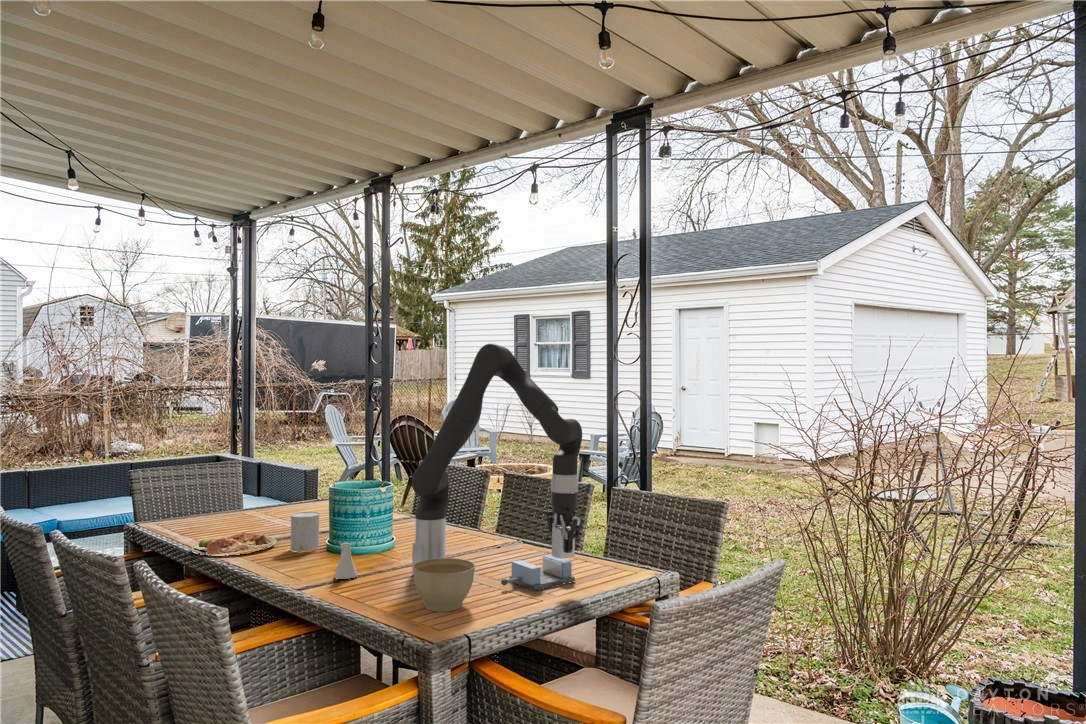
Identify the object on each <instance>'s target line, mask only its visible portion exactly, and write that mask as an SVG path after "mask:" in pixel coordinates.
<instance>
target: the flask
mask: <svg viewBox="0 0 1086 724" xmlns="http://www.w3.org/2000/svg"><path fill="white" fill-rule="evenodd" d="M351 546H352V543H350V542H343V543H341V544H340V548H341V551H340V552H341V553H340V557H339V561H338V563H337V564H338V565H337V567H336V569H335V572H334V576H333V578H334V577H335V578H338V579H349V580H351V579H350V578H353V577H357V578H358V576H357V574H358V571H357V569H356V567H355V563H354V560H353V558H352V553H351Z"/></svg>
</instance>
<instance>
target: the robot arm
mask: <svg viewBox="0 0 1086 724" xmlns="http://www.w3.org/2000/svg"><path fill="white" fill-rule="evenodd" d="M477 351H478V352H477V353H476V355H475V357H474V360H473V362H472V364H471V367H470V369H469V372H468V374H467V377H466V378H465V381H464V383H463V385H462V387H461V389H460V391H459V393H458V394H457V396H456V399H455V401H454V402H453V404H452V406H451V407H450V409H449V411H448V413H447V414H446V416H445V418H444V420H443V423H442V425H441V426H440V428H439V430H438V433H437V435H436V436H435V439H434V440H433V442H432V445H431V447H430V449H429V450H428V452H427V454H426V455H425V456H424V458H423V459H422V461H421V462H420V464H419V465H418V467H417V468H416V470H415V471H414V473H413V475H412V479H411V487H412V488H411V489H412V490H413V491H414V493H415V494H416V495H417V496H418V497H419V501H418V504H417V507H416V508H415V511H414V515H415V517H414V519H415V520H414V523H415V525H414V538H415V539H414V542H413V543H412V549H411V550H412V552H411V553H412V556H411V558H412V563H411V564H412V565H411V569H412V570H411V571H412V572H411V574H412V575H413V576H414V571H413V565H414V564H416V563H418V562H420V561H423V560H428V559H436V558H446V543H447V541H446V539H447V538H446V536H447V535H446V532H447V531H446V527H447V521H446V520H447V519H446V516H447V510H448V505H449V489H450V480H449V475H448V471H447V469H448V466H449V465H450V462H451V461H452V460H453V458H454V457H455V456H456V454H457V453H458V452H459V451H460V450H461V449H462V448H463V446H464V445H465V444H466V443H467V441H468V440H469V438H470V437H471V435H472V434H473V432H474V431H475V428H476V427H477V424H478V422H479V421H480V418H481V415H482V408H483V400H484V396H485V393H486V391H487V388H488V386H489V384H490V383H491V382H492V379H493V378H494V377H498V378H500V379H501V380H502V381H504V382H506V383H507V384H508V385H509V386H510V387H511V388H512V389H513V390H514V392H515V393H516V395H517V397H518V398H519V399H520V402H521V404H522V405H523V406H524V407H525V409H526V410H527V411H528V412H529V413H530V414H531V415H532V416H533V417H534V418H535V419H536V420H537V421H538V422H539V425H540V426H541V428H542V429H543V430H544V433H545V434H546V436H547V437H548V438H549V439H550V440H551V441H552V442H553V443H555V444H557V445H559V448H558V450H557V452H556V453H555V454H554V455H553V457H552V476H551V481H550V482H551V484H550V485H551V486H550V487H551V488H550V494H551V495H550V506H551V507H553V508H552V511H551V510H550V511H546V513H545V514H546V520H547V525H548V530H549V533H552V527H561V526H562V529H563V531H564V532H565V553H571V552H572V550H573V539H574V538H575V539H577V538H579V535H580V531H581V528H582V523H583V518H580V517H578V516H577V515H576V511H575V510H576V508H577V507H578V500H579V499H578V497H579V496H578V495H579V494H578V493H579V491H578V490H579V485H578V484H579V479H578V478H579V477H578V458H579V454H580V450H581V445H582V441H583V429H582V426H581V424H580V422H579V421H578V420H576V419H574V418H563V417H562V416H561V415H560V414H559V407H558V405H557V404H556V402H554V400H553V399H552V398H550V397H549V396H548V394H547V393H545V391H544V390H543V389H542V388H540V387H539V386H538V385H537V384H536V382H535V381H534V380H533V379H532V378H531V377H530V376H529V375H528V374H527V372H526V371H525V370H524V368H523V367H522V366H521V364H520V363H519V361H518V359H516V357H515V355H514V354H513V352H511V350H510V349H509V348H507V347H506V346H502V345H499V344H496V343H491V342H490V343H486V344H484V345H483V346H481V347H480V348H479V350H477ZM569 526H570V528H567V527H569ZM569 530H570V534H568V531H569ZM574 532H575V534H574Z"/></svg>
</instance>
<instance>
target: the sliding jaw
mask: <svg viewBox="0 0 1086 724" xmlns="http://www.w3.org/2000/svg"><path fill="white" fill-rule="evenodd" d="M541 570H542V569H541V566H538V565H535V564H532V563H529V562H526V561H523V560H521V559H519V560H513V561H511V576H512V577H513V579H510V578H509V579H506V578H502V579H500V580H501V582H500V584H501V585H502V586H506V585H508V584H510V583H512V582H516V581H523V582H526V583H528V584H531V585H534V584H538V583H540V582H541Z"/></svg>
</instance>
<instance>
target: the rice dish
mask: <svg viewBox="0 0 1086 724" xmlns="http://www.w3.org/2000/svg"><path fill="white" fill-rule="evenodd" d="M267 540H270V541H271V542H269V543H272V545H271V546H269V547H267V548H265V549H268V548H270V547H273V546H274V545H275V544H276V543H277V539H276V538H274V537H273V536H271V535H266V534H264V533H263V534H262V533H260V532H246V531H243V532H241V533H237V534H233V535H224V536H218V537H214V538H211V539H202V540H200V542H198V543H197V544H194V545H193V546H192V547H191V549H193V548H194V547H195V546H197V545H199V547H205V548H207V549H208V550H207V551H208V552H207V553H208V554H223V553H229V552H237V551H240V550H243V551H245V550H253V549H259V547H258V546H256V545H262V544H268V541H267ZM260 548H263V547H260ZM191 549H190V550H191ZM265 549H264V550H265Z"/></svg>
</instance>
